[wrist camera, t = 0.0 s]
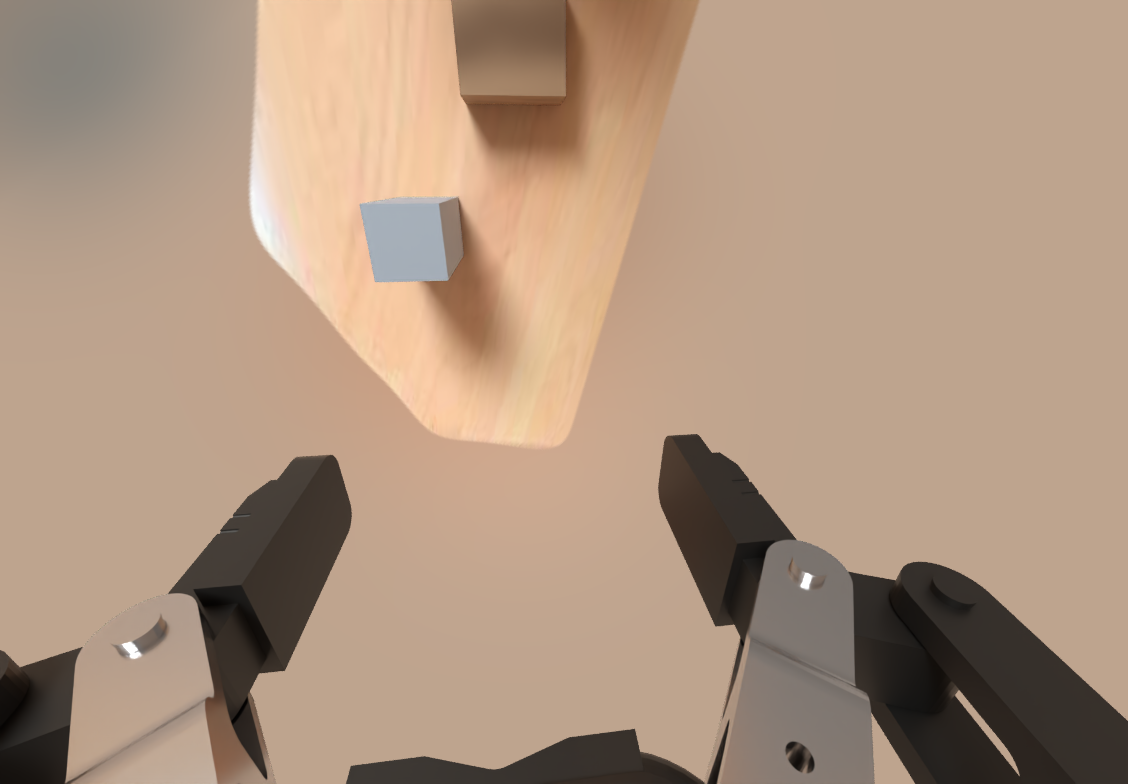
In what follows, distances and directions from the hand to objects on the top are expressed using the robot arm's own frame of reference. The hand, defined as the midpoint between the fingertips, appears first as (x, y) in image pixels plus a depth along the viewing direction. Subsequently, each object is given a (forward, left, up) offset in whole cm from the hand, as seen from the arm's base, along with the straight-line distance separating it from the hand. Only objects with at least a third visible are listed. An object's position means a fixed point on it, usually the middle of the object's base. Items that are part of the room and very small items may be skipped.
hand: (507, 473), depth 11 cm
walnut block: (-15, +1, -30) cm, 33 cm away
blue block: (-3, -6, -29) cm, 30 cm away
